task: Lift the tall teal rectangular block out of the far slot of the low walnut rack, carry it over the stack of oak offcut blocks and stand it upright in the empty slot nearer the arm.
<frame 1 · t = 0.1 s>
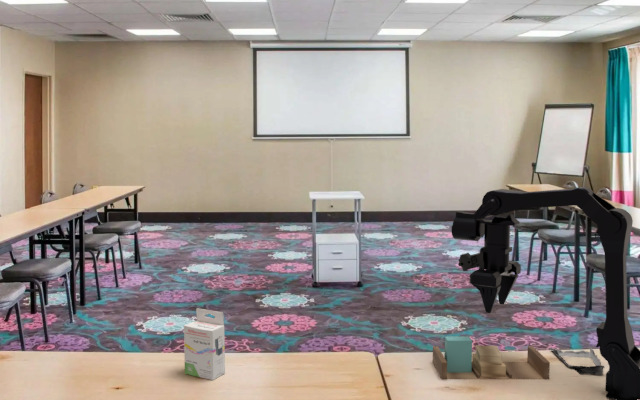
hand: (495, 308, 145), 15 cm above the table, tool pointing down, fingers open, 9 cm apart
teal rectangular block: (457, 370, 142), point 1 cm above the table, touching rack
offcut top: (488, 359, 142), point 4 cm above the table, touching offcut low
rack: (488, 375, 142), on the table
ink box: (204, 374, 143), on the table
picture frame: (577, 367, 149), on the table
offcut low: (488, 370, 142), point 1 cm above the table, touching offcut top, rack
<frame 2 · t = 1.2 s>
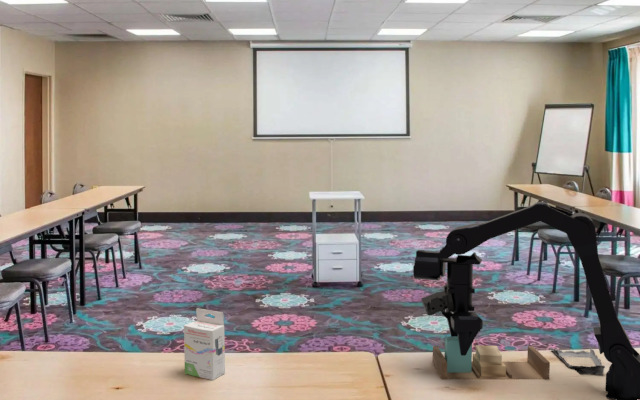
hand: (458, 348, 141), 6 cm above the table, tool pointing down, fingers open, 9 cm apart
nothing on the table moved.
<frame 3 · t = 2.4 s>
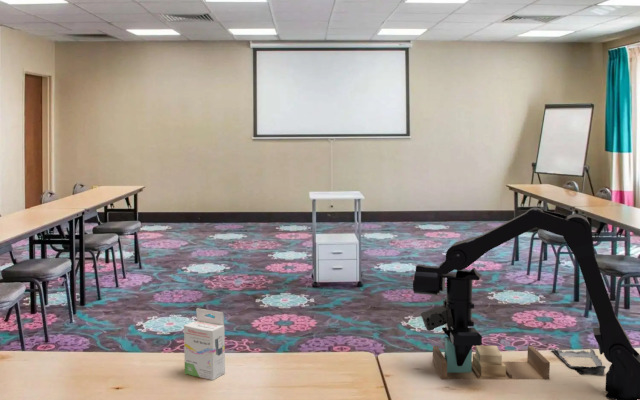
hand: (457, 363, 142), 3 cm above the table, tool pointing down, fingers closed on teal rectangular block, 3 cm apart
teal rectangular block: (457, 370, 142), point 1 cm above the table, touching gripper, rack
everything else where it was.
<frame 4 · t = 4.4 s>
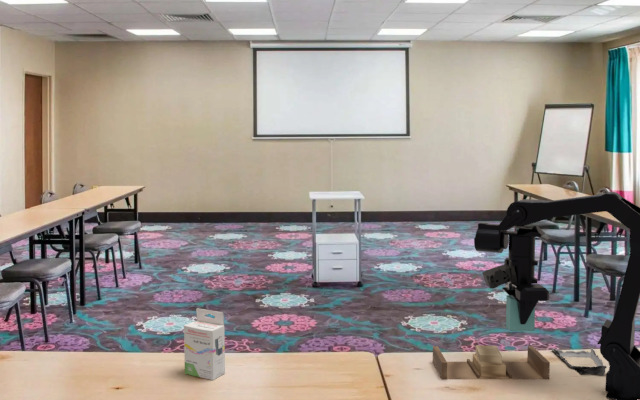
hand: (520, 322, 141), 13 cm above the table, tool pointing down, fingers closed on teal rectangular block, 3 cm apart
teal rectangular block: (520, 328, 141), point 11 cm above the table, touching gripper
everything else where it was.
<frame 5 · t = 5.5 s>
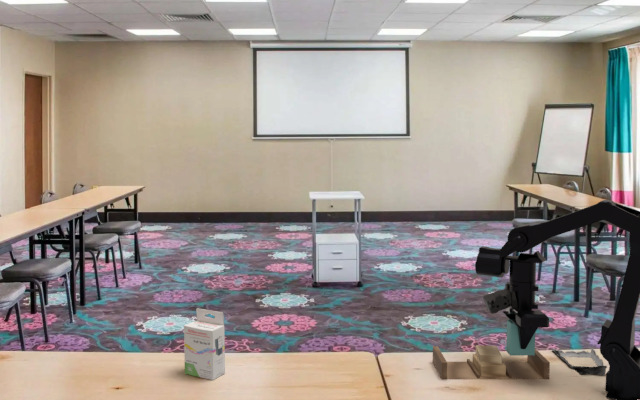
hand: (520, 346, 141), 7 cm above the table, tool pointing down, fingers closed on teal rectangular block, 3 cm apart
teal rectangular block: (520, 353, 141), point 5 cm above the table, touching gripper
everything else where it was.
when the fingers open (4 cm above the table, at t = 6.3 s): teal rectangular block stays where it is, resting on rack.
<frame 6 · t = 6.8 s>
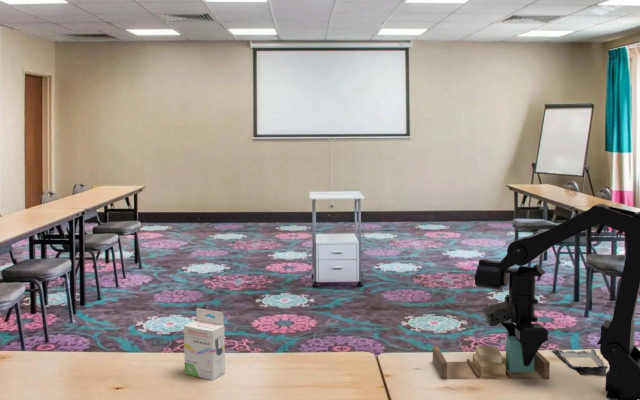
hand: (520, 359, 142), 4 cm above the table, tool pointing down, fingers open, 8 cm apart
teal rectangular block: (519, 370, 142), point 1 cm above the table, touching rack
everything else where it was.
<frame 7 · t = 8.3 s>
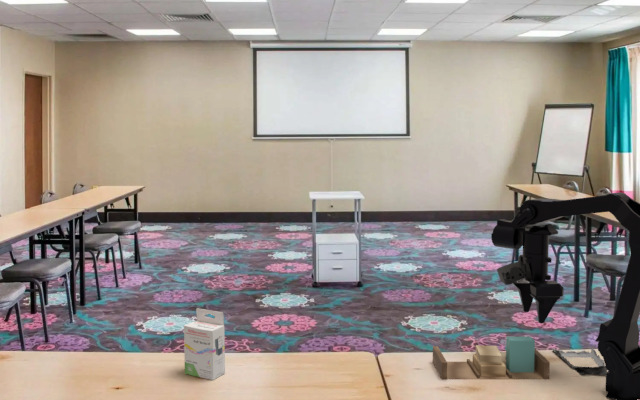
hand: (533, 317, 145), 12 cm above the table, tool pointing down, fingers open, 9 cm apart
nothing on the table moved.
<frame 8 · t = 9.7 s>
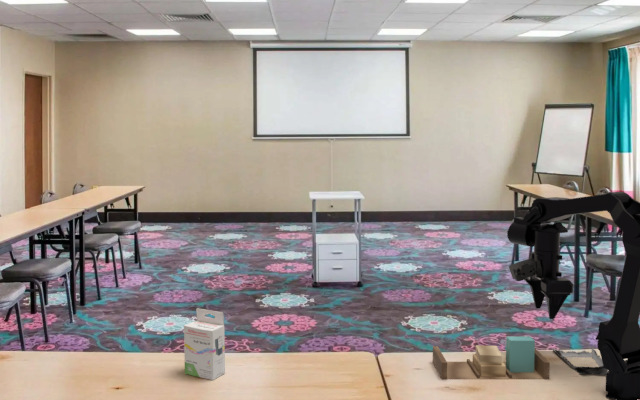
hand: (544, 313, 148), 12 cm above the table, tool pointing down, fingers open, 9 cm apart
nothing on the table moved.
at the end: teal rectangular block 0.0 cm from the target spot, point 1.2 cm above the table; teal rectangular block tilted 0°; the gripper is holding nothing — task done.
